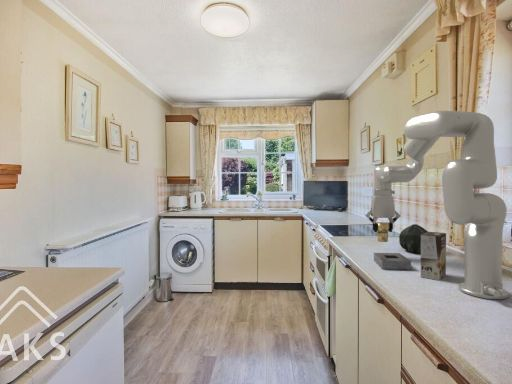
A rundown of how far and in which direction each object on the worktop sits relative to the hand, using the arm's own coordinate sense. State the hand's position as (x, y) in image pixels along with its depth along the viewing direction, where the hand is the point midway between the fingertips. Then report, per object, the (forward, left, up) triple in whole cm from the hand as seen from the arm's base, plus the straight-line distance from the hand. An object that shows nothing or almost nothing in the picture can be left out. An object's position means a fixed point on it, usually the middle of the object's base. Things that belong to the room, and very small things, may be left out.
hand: (382, 231), depth 140 cm
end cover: (0, 0, -5) cm, 5 cm away
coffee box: (-27, -11, -12) cm, 32 cm away
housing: (-13, 0, -12) cm, 18 cm away
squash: (+13, -19, -13) cm, 26 cm away
